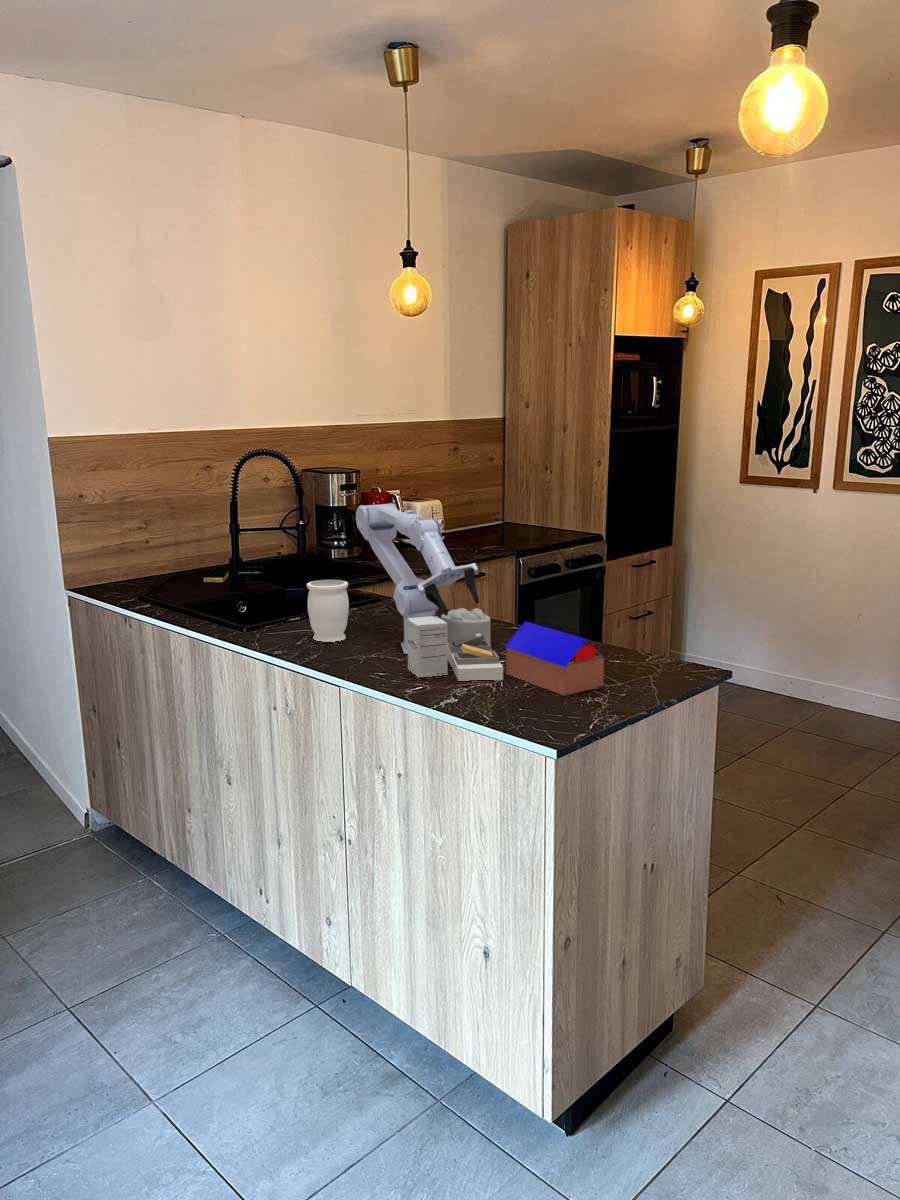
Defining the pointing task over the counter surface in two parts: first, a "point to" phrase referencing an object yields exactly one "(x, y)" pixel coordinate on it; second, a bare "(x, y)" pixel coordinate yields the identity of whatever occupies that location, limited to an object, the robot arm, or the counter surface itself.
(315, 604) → the jar
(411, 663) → the supplement box
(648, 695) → the counter surface
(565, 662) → the house
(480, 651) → the amber rocker
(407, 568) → the robot arm
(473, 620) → the lumpy-topped squat cylinder
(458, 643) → the charcoal rocker
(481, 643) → the cream switch panel
